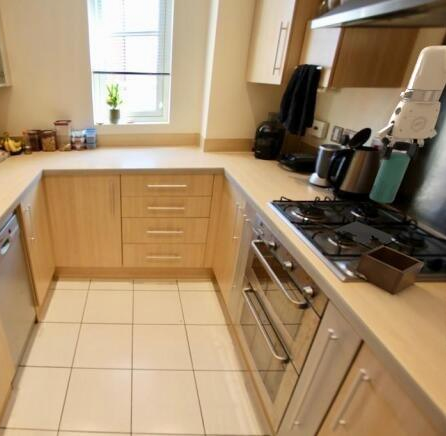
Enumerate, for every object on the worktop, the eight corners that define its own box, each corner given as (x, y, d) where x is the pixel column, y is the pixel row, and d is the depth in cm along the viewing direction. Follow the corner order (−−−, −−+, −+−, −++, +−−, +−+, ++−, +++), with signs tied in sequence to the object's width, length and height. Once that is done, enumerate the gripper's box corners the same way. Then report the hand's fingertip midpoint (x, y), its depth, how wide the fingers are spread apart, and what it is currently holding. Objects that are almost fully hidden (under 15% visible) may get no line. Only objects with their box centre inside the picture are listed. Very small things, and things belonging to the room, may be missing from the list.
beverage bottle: (396, 208, 99) (423, 145, 90) (373, 207, 100) (397, 144, 91) (384, 199, 105) (408, 139, 96) (362, 198, 106) (384, 139, 97)
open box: (413, 283, 87) (424, 262, 84) (393, 294, 83) (404, 273, 80) (374, 264, 95) (382, 244, 92) (353, 273, 91) (362, 253, 88)
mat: (398, 239, 107) (399, 238, 106) (375, 250, 101) (375, 249, 101) (355, 222, 118) (356, 221, 118) (332, 231, 112) (332, 230, 112)
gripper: (398, 98, 85) (374, 162, 93) (467, 97, 84) (437, 162, 92) (379, 95, 91) (359, 155, 100) (443, 94, 90) (416, 155, 99)
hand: (396, 158), depth 96 cm, fingers closed on beverage bottle, 6 cm apart
